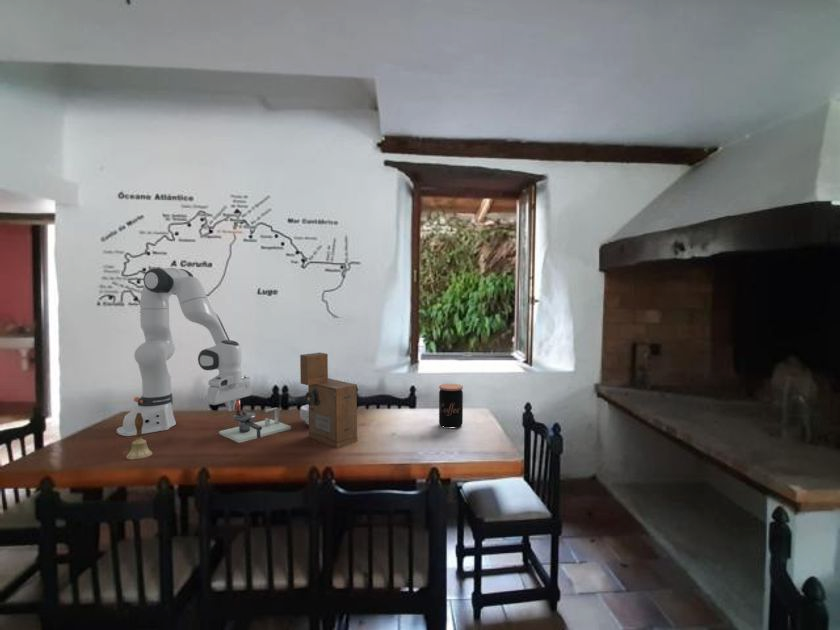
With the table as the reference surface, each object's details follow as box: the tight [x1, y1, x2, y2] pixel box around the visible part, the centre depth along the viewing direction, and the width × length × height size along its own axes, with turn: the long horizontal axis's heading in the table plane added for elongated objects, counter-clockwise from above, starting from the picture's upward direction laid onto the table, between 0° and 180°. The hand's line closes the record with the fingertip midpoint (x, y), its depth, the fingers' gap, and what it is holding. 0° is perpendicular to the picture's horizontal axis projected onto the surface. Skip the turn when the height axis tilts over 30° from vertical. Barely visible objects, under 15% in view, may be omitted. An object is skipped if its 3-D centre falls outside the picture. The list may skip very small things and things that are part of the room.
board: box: [218, 410, 292, 444], centre depth 196 cm, size 24×17×10 cm
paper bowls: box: [299, 404, 309, 426], centre depth 208 cm, size 15×15×8 cm
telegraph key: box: [232, 398, 262, 439], centre depth 190 cm, size 22×9×12 cm, turn 45°
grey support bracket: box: [264, 406, 281, 426], centre depth 202 cm, size 6×2×7 cm, turn 139°
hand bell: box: [126, 413, 153, 461], centre depth 167 cm, size 8×8×16 cm
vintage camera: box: [299, 352, 358, 449], centre depth 184 cm, size 19×14×35 cm
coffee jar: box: [438, 383, 464, 428], centre depth 205 cm, size 11×11×18 cm
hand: (230, 410), depth 194 cm, fingers closed
